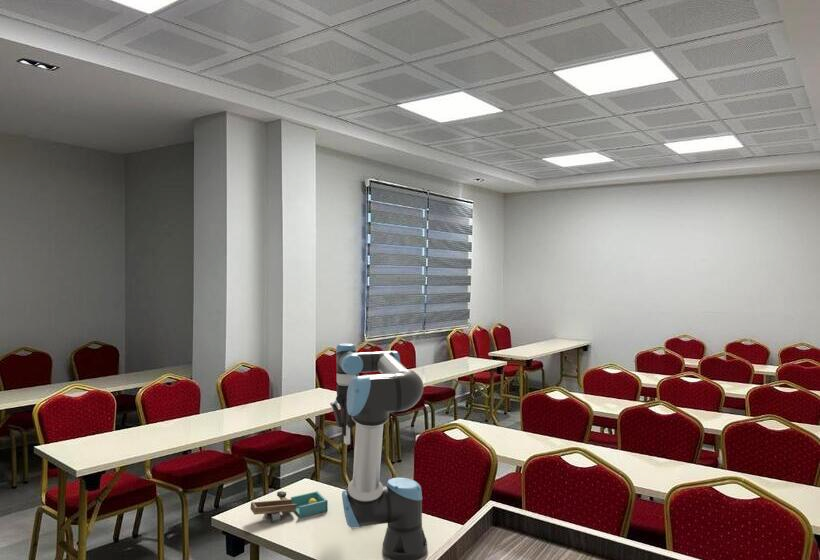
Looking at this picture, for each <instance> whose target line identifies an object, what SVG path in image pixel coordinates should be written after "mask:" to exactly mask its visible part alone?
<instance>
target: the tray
mask: <svg viewBox="0 0 820 560" xmlns="http://www.w3.org/2000/svg"><path fill="white" fill-rule="evenodd" d="M312 498H314V499H316V501H317V502H316V503H312V504H309V500H310V499H312ZM290 499H292V504H297V505H296V511H294V513H295V514H296V515H297V516H298V517H299V518H303V517H307V516H312V515H316V514H317V515H318V514H319V513H320V514H321V513H324V512H327V511H328V510H329V509H328V500H327V499H326V498H325V497H324V496H323V495H322V494H321V493H320V492H319V491H318V490H317V491H311V492H308V493H307V492H306V493H303V494H299V495H294V496H291V497H290Z"/></svg>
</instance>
